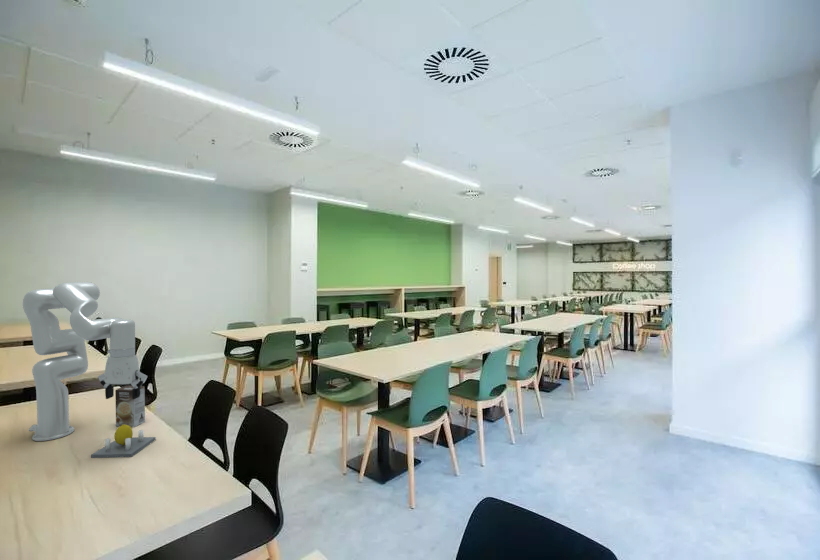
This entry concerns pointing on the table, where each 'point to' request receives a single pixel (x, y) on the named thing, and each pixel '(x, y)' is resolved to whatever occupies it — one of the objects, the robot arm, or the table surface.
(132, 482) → the table surface
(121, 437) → the lemon
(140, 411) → the coffee box
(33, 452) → the table surface
